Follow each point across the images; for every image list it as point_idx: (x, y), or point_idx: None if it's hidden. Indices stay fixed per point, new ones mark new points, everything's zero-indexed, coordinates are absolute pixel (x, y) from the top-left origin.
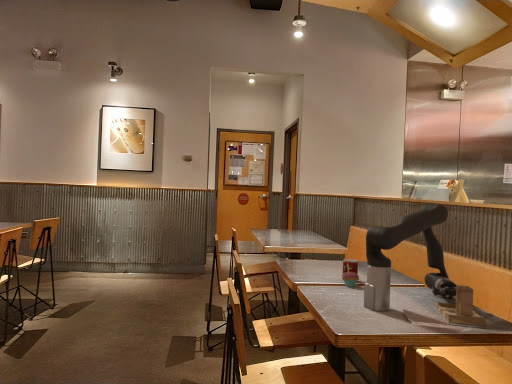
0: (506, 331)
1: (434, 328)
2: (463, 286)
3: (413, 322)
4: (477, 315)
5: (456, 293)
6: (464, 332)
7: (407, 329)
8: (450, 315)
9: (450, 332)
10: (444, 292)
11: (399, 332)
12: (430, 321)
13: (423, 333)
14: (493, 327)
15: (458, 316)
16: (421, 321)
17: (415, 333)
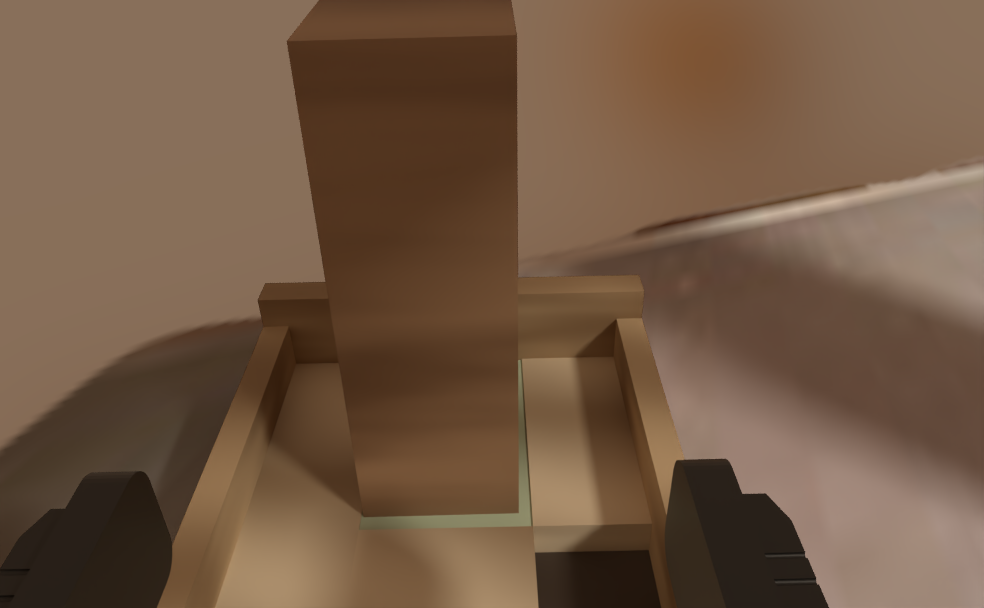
0: (97, 378)
1: (752, 278)
2: (410, 15)
3: (960, 340)
4: (228, 460)
5: (516, 184)
6: (523, 273)
7: (933, 222)
8: (621, 280)
9: (632, 250)
10: (717, 498)
11: (955, 182)
12: (814, 410)
13: (812, 202)
14: (147, 441)
15: (539, 284)
16: (901, 384)
17: (859, 192)
